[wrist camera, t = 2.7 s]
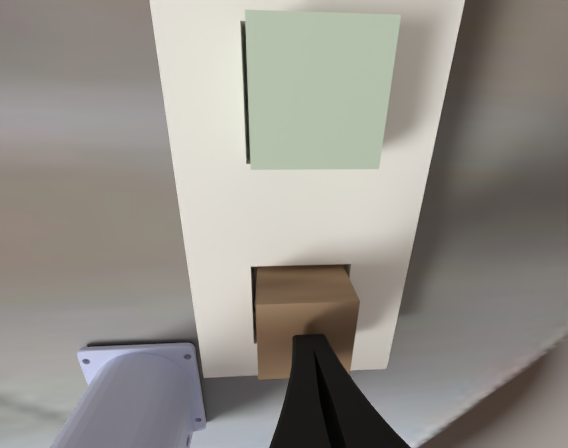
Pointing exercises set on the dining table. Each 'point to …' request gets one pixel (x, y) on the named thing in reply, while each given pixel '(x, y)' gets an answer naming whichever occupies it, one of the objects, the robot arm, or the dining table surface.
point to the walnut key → (303, 313)
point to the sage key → (318, 88)
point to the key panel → (293, 174)
